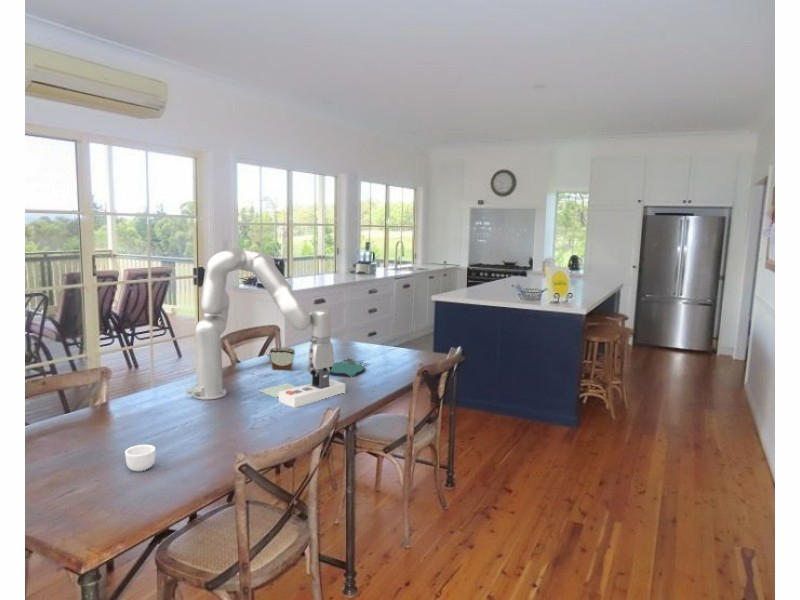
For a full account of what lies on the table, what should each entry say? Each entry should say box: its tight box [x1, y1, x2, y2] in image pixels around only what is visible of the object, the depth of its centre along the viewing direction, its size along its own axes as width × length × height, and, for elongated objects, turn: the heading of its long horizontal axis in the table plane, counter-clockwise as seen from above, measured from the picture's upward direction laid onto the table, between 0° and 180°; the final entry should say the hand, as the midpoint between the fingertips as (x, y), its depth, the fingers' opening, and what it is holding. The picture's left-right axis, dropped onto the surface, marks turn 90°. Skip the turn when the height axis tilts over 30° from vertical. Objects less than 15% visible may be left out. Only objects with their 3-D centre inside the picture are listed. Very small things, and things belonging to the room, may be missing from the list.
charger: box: [311, 369, 330, 389], centre depth 222 cm, size 4×6×8 cm
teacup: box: [124, 444, 156, 472], centre depth 155 cm, size 10×8×5 cm
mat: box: [259, 382, 297, 399], centre depth 227 cm, size 14×12×1 cm
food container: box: [269, 346, 296, 372], centre depth 259 cm, size 12×6×10 cm, turn 84°
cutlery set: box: [322, 357, 366, 377], centre depth 264 cm, size 20×30×2 cm, turn 159°
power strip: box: [278, 378, 346, 409], centre depth 220 cm, size 26×10×5 cm, turn 139°
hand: (320, 383), depth 222 cm, fingers closed on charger, 4 cm apart
